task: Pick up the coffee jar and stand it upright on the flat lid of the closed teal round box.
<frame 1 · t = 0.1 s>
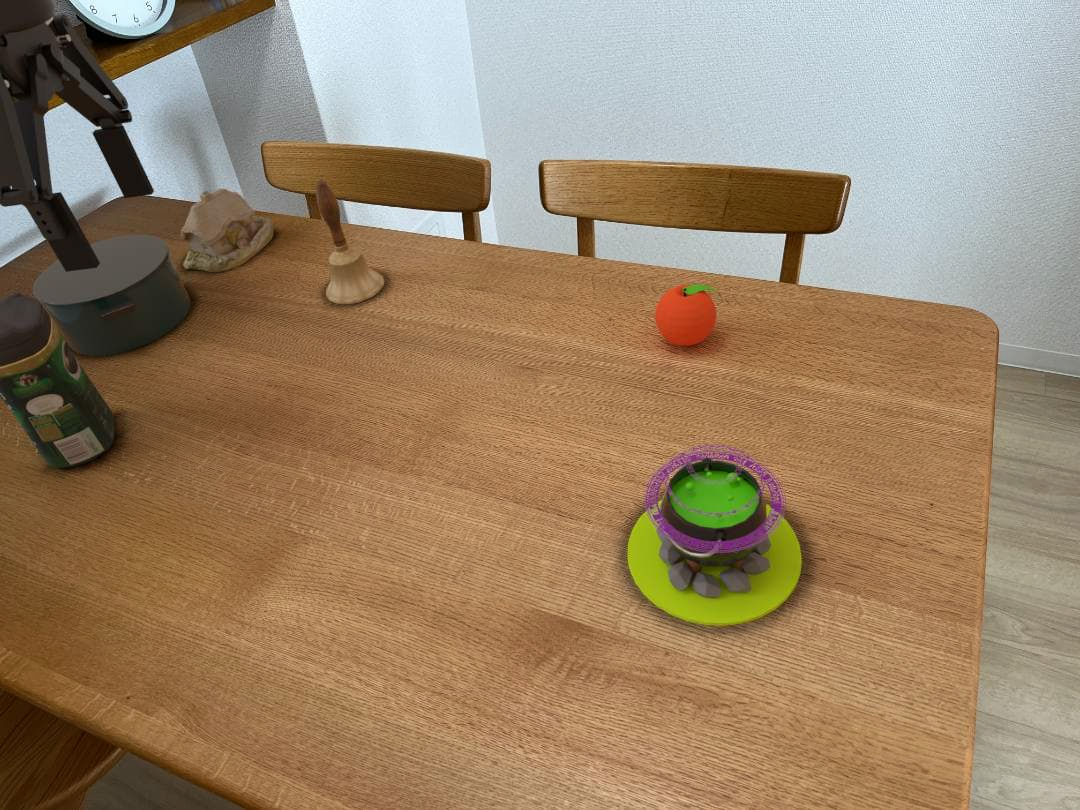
hand: (113, 228, 73), 27 cm above the table, tool pointing down, fingers open, 13 cm apart
teal round box: (130, 319, 115), on the table
toy cauldron: (712, 553, 71), on the table
coffee jar: (84, 444, 95), on the table
hand bell: (356, 289, 113), on the table
ceramic model: (231, 251, 127), on the table
clementine: (690, 339, 95), on the table
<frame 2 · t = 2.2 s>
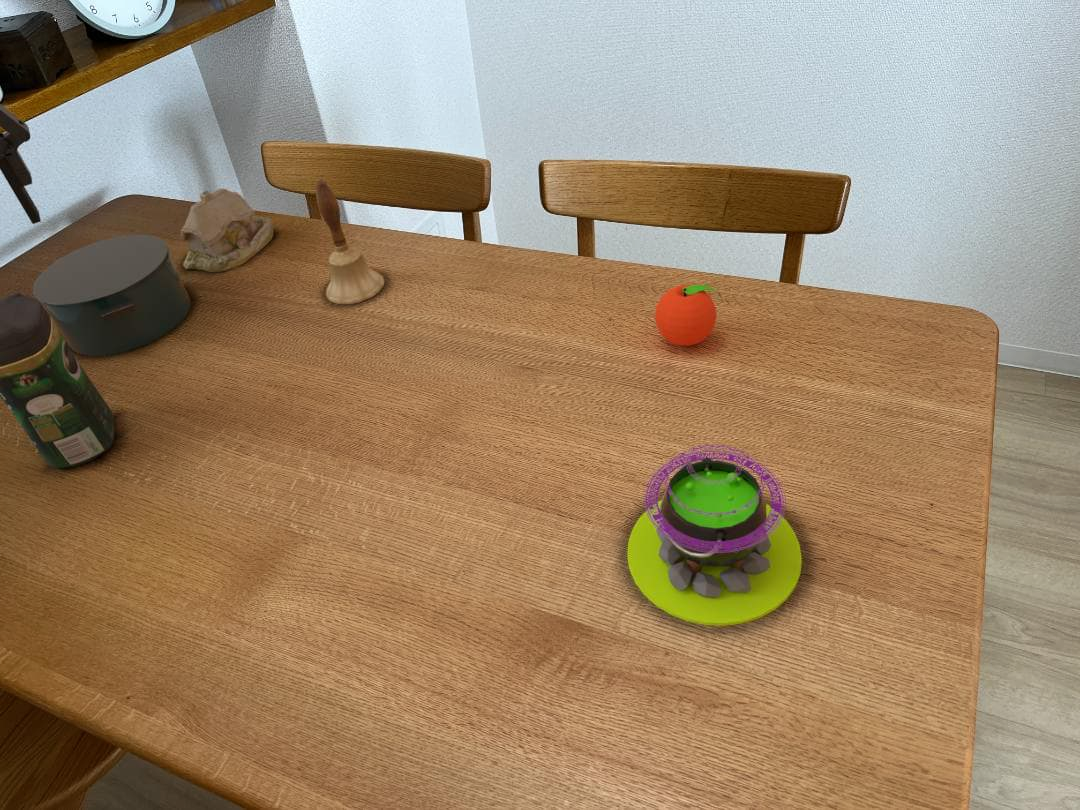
nothing on the table moved.
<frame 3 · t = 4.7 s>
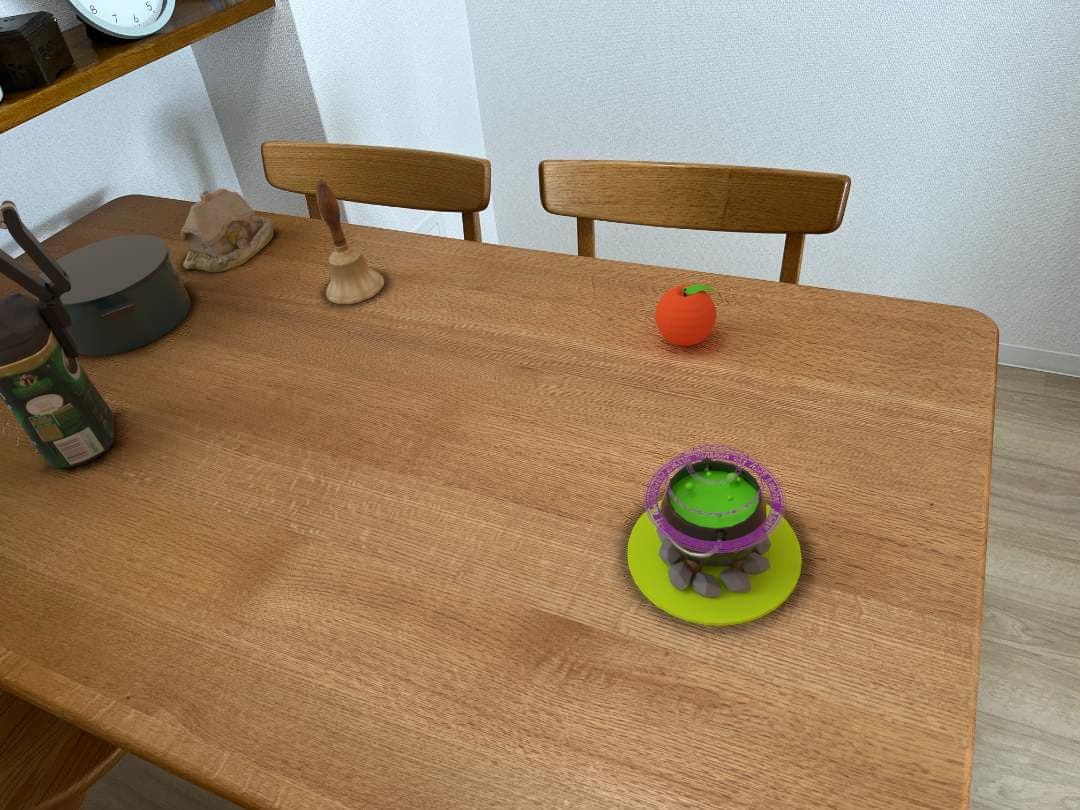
hand: (32, 367, 87), 11 cm above the table, tool pointing down, fingers closed on coffee jar, 8 cm apart
coffee jar: (84, 444, 95), on the table, touching gripper
everything else where it was.
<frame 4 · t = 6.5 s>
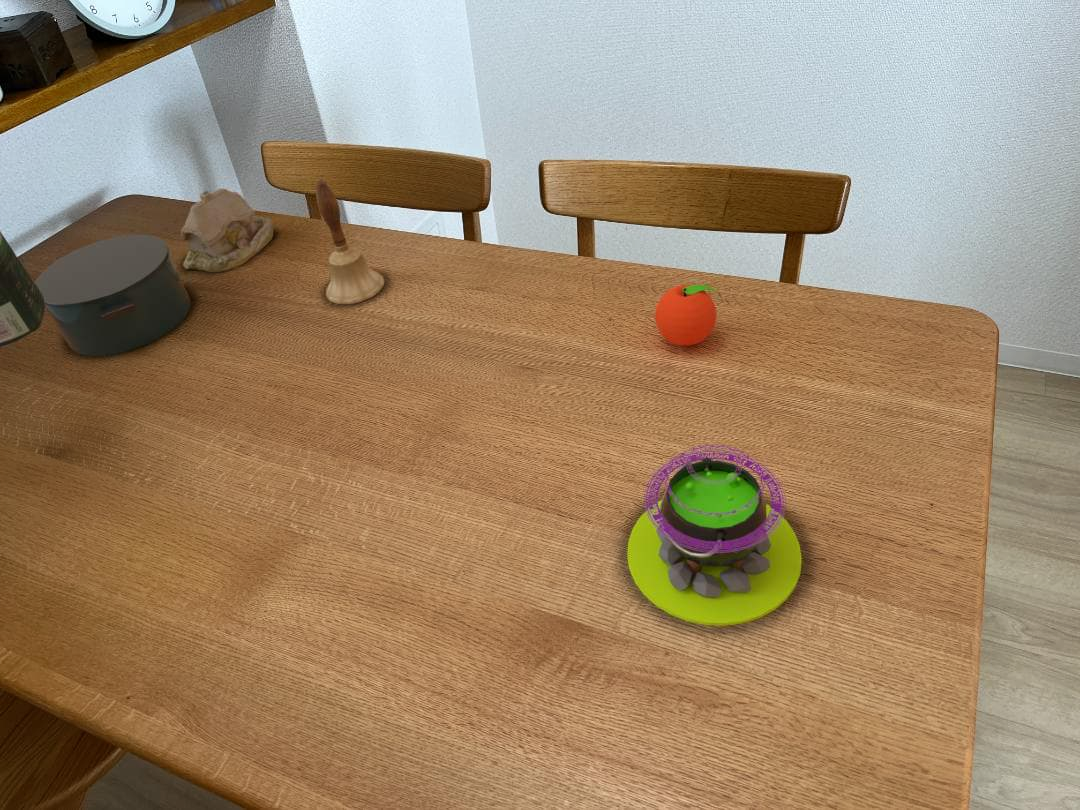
coffee jar: (10, 328, 85), point 16 cm above the table, touching gripper
everything else where it was.
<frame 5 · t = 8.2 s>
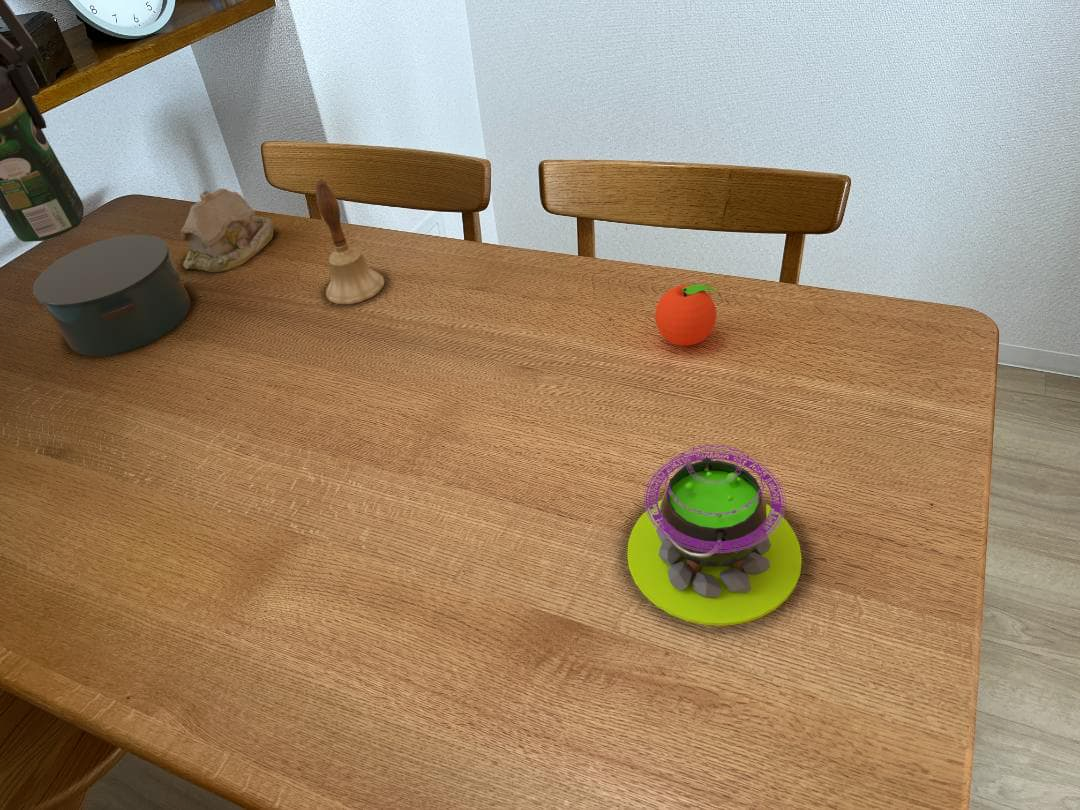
hand: (2, 136, 91), 29 cm above the table, tool pointing down, fingers closed on coffee jar, 8 cm apart
coffee jar: (54, 227, 99), point 18 cm above the table, touching gripper
everything else where it was.
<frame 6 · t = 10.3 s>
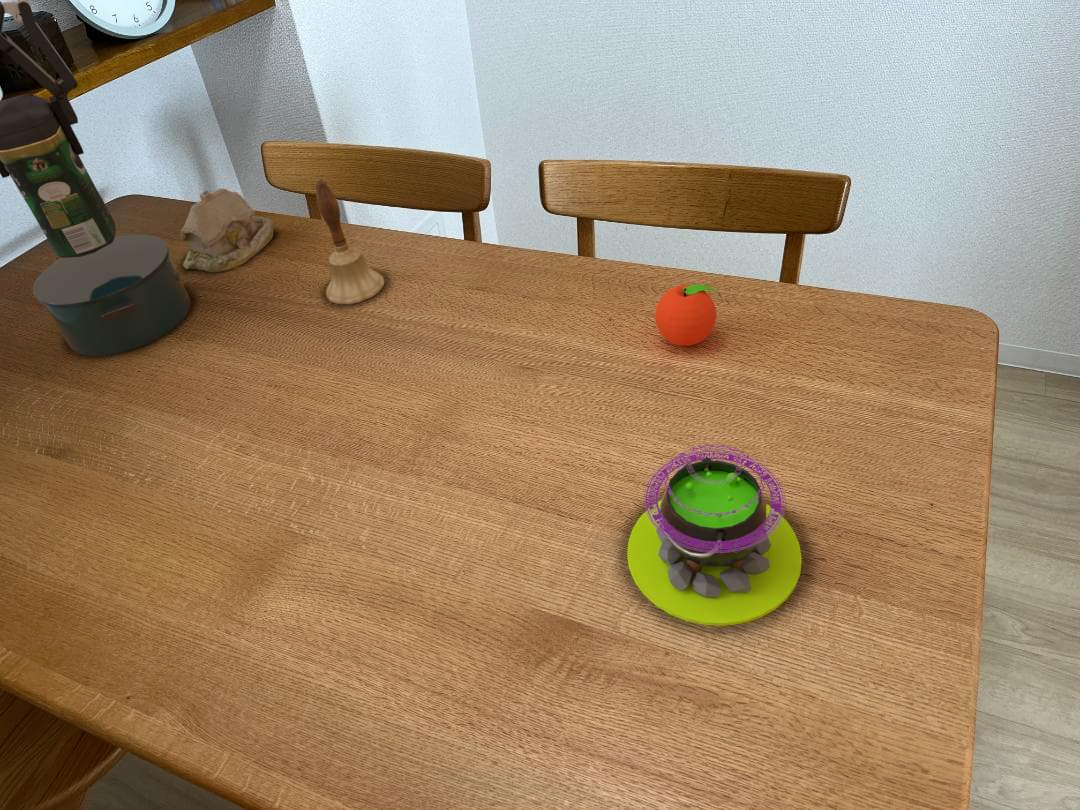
hand: (43, 162, 99), 24 cm above the table, tool pointing down, fingers closed on coffee jar, 8 cm apart
coffee jar: (88, 243, 107), point 12 cm above the table, touching gripper
everything else where it was.
when the fingers open (20 cm above the table, at t = 11.9 s): coffee jar stays where it is, resting on teal round box.
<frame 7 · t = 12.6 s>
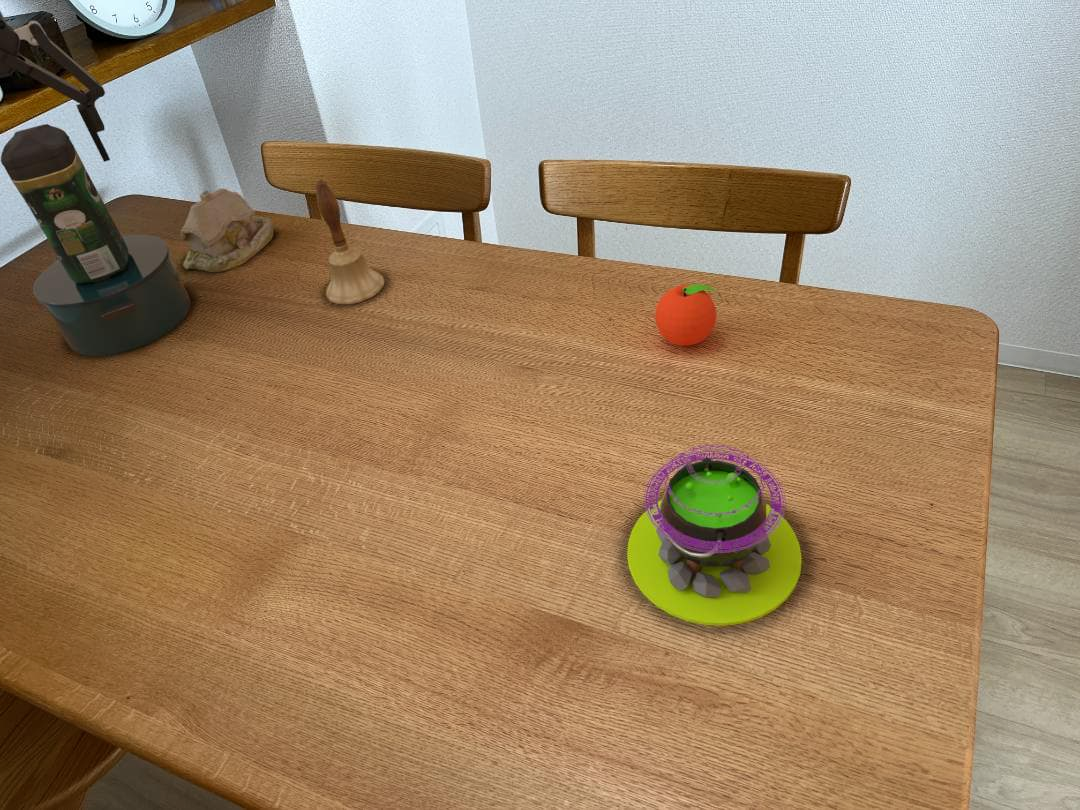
hand: (50, 175, 100), 22 cm above the table, tool pointing down, fingers open, 13 cm apart
coffee jar: (102, 268, 109), point 8 cm above the table, touching teal round box
everything else where it was.
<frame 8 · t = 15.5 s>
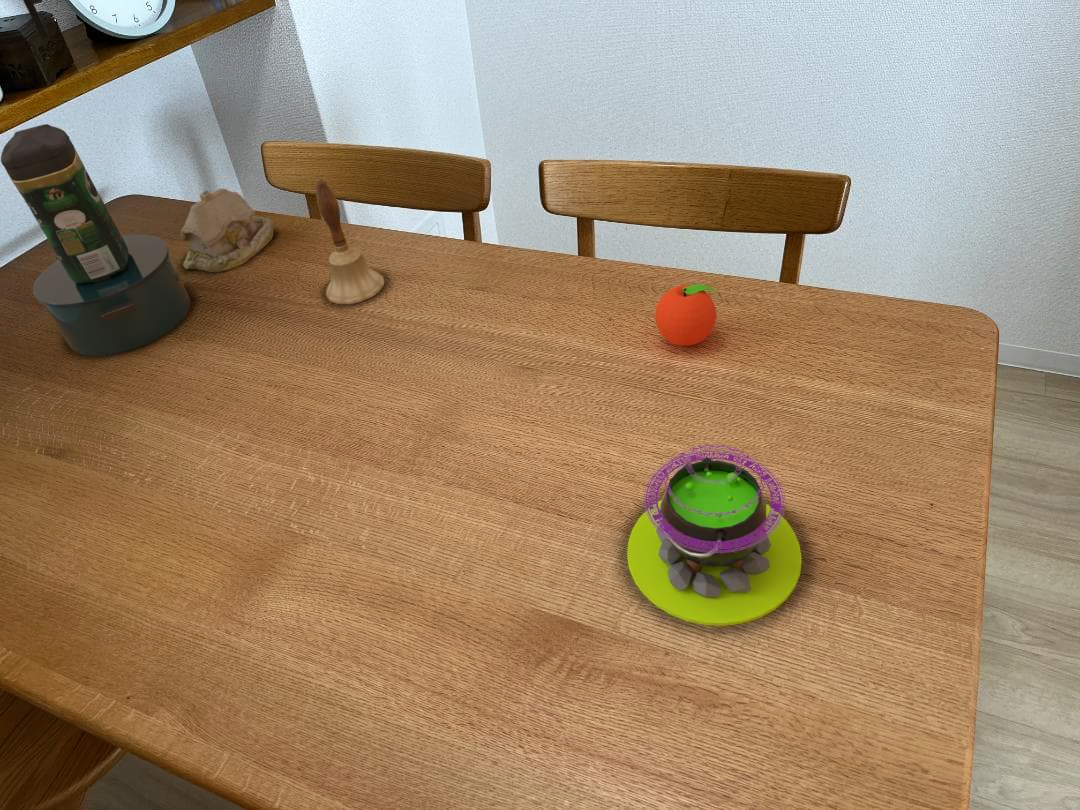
nothing on the table moved.
at the end: coffee jar inside the target area on the teal round box (0.0 cm from its centre), point 8.4 cm above the teal round box's base; coffee jar tilted 0° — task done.
